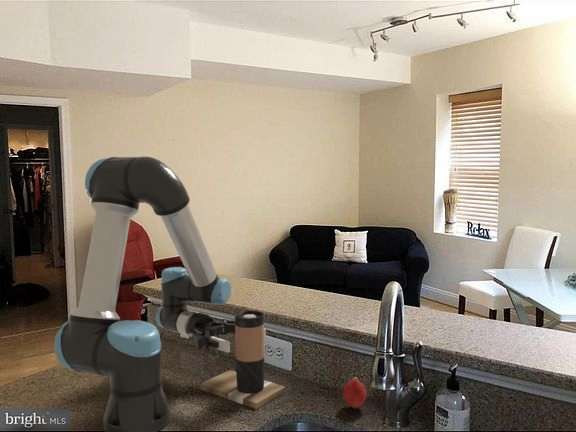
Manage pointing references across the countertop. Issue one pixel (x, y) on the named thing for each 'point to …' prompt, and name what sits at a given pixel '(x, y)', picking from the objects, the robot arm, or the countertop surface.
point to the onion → (354, 393)
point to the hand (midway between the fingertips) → (247, 340)
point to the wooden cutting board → (227, 389)
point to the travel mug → (249, 351)
